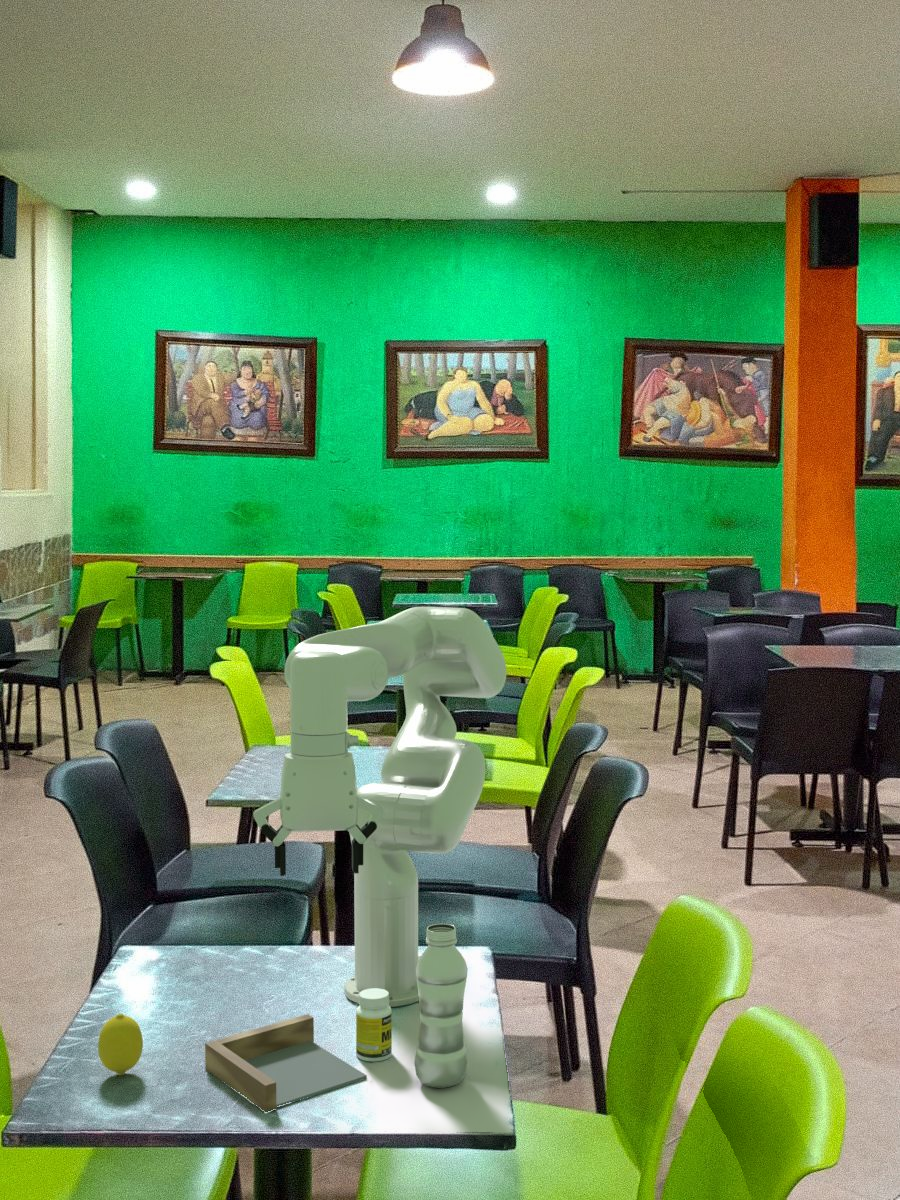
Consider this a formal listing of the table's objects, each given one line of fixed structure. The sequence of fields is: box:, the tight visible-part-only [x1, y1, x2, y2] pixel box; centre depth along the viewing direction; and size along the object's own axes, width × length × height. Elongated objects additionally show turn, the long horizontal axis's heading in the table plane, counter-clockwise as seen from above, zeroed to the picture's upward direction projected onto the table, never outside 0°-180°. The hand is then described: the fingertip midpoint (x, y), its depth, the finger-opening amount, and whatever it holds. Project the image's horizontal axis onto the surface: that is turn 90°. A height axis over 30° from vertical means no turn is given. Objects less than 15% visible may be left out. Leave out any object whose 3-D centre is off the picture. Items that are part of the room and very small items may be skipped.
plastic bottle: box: [414, 923, 468, 1088], centre depth 163 cm, size 6×7×20 cm
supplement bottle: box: [355, 988, 393, 1063], centre depth 172 cm, size 5×5×8 cm
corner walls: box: [204, 1014, 315, 1112], centre depth 166 cm, size 16×16×4 cm
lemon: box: [97, 1013, 144, 1076], centre depth 166 cm, size 6×6×8 cm
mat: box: [245, 1041, 368, 1106], centre depth 166 cm, size 14×14×1 cm
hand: (319, 872), depth 172 cm, fingers open, 9 cm apart
